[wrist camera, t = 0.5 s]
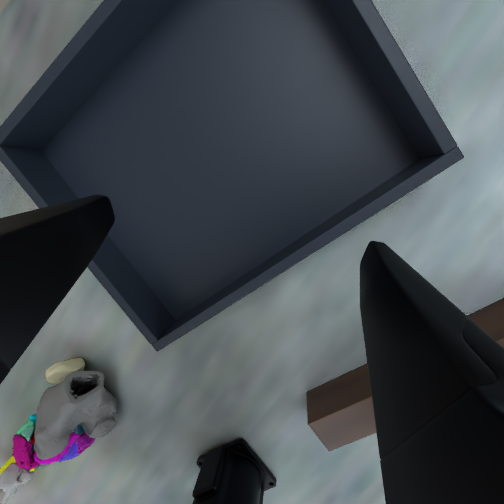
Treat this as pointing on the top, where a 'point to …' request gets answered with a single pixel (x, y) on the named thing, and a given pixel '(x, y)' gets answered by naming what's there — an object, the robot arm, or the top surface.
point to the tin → (223, 142)
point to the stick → (369, 393)
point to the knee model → (60, 423)
